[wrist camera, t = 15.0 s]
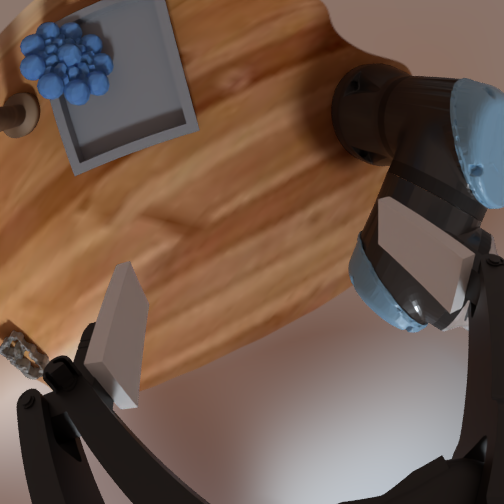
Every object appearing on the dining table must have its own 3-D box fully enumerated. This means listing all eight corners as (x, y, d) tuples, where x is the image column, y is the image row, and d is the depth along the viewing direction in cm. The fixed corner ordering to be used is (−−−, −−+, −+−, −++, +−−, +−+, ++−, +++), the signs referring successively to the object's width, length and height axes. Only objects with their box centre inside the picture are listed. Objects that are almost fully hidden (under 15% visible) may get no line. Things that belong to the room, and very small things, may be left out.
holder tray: (161, -12, 25) (160, -20, 23) (198, 128, 35) (199, 130, 33) (44, 36, 24) (35, 33, 21) (82, 170, 34) (74, 176, 32)
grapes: (101, 56, 30) (21, 41, 21) (127, 24, 26) (38, 2, 17) (94, 128, 30) (-1, 118, 21) (120, 98, 25) (8, 80, 16)
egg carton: (55, 361, 48) (51, 376, 44) (36, 371, 48) (32, 385, 45) (17, 325, 42) (10, 340, 39) (0, 338, 43) (-7, 352, 39)
